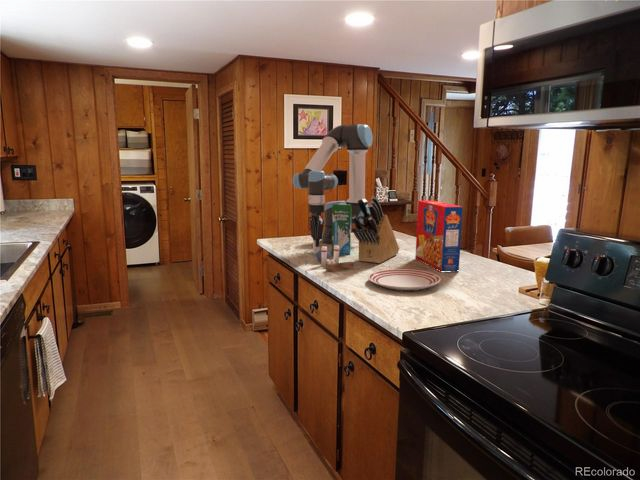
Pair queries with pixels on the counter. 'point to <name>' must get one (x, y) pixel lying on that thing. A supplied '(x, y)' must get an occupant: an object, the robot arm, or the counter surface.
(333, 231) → the milk carton
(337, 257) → the pin
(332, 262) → the front pin
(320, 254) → the ball
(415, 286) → the dinner plate
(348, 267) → the brown wooden bar
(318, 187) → the robot arm
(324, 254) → the pin
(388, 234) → the knife block
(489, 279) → the counter surface
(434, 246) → the pasta box
